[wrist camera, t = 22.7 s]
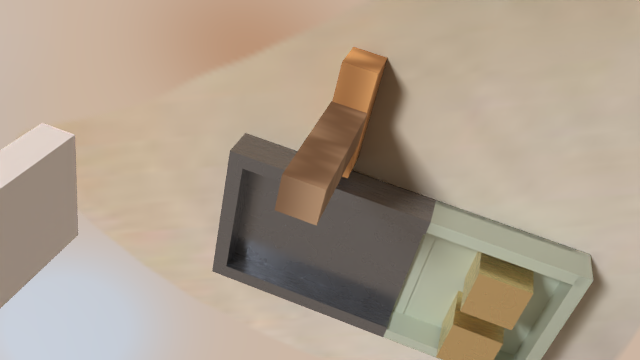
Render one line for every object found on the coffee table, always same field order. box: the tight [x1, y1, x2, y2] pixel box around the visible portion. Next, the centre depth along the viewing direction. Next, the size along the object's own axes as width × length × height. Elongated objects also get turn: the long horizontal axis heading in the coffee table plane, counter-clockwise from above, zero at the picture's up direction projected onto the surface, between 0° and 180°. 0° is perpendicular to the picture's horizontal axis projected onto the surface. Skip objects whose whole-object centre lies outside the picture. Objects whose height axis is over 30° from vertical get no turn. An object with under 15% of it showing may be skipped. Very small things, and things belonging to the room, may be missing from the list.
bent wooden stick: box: [275, 47, 387, 226], centre depth 39 cm, size 3×9×13 cm, turn 168°
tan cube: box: [436, 291, 504, 360], centre depth 49 cm, size 4×4×4 cm
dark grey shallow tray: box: [213, 133, 436, 337], centre depth 50 cm, size 16×13×3 cm
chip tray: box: [384, 201, 593, 360], centre depth 48 cm, size 12×13×3 cm
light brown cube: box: [460, 251, 534, 330], centre depth 46 cm, size 4×4×4 cm
